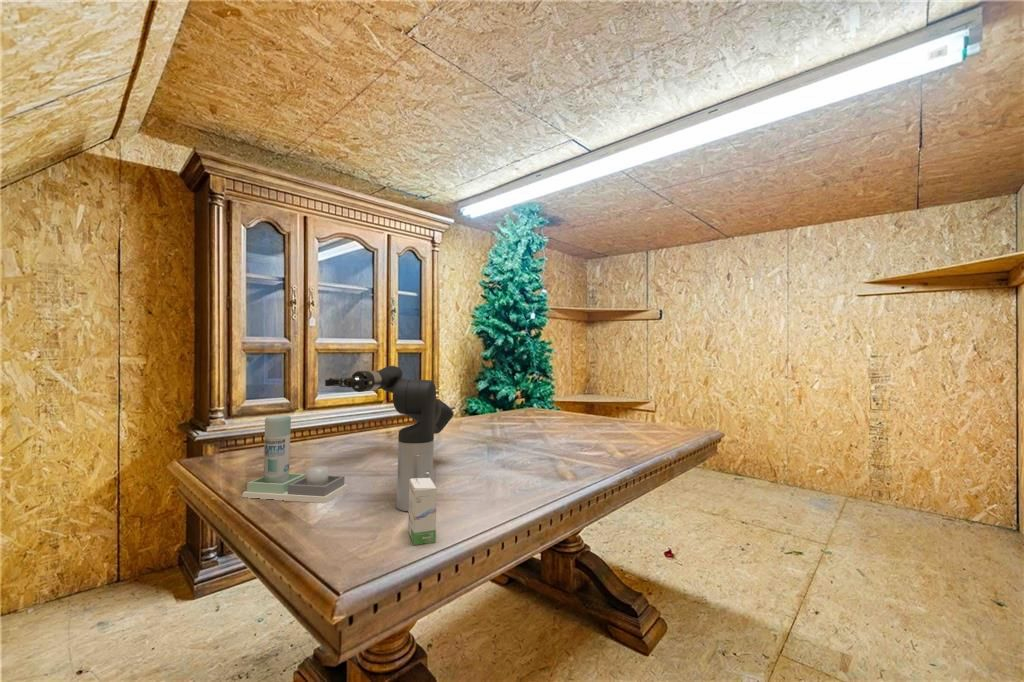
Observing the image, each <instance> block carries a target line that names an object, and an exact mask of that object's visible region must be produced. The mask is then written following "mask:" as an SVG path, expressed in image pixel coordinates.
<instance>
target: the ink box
mask: <svg viewBox="0 0 1024 682" xmlns="http://www.w3.org/2000/svg"><path fill="white" fill-rule="evenodd" d="M437 489H438V488H437V487H436V484H435V485H434V483H433V482H432V480H431V479H430V478H412V479H410V481H409V511H408V518H407V519H408V522H407V526H408V527H407V531H408V534H409V536H410V539H411V541H412V545H414V546H418V544H419V545H424V544H423V543H426V544H430V543H429V542H432V543H436V542H435V541H437V540H436V538H437V537H436V536H437Z"/></svg>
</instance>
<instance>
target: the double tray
mask: <svg viewBox="0 0 1024 682" xmlns="http://www.w3.org/2000/svg"><path fill="white" fill-rule="evenodd" d="M348 485H349V484H348V483H347V484H346V483H345V475H330V474H329V466H328V465H312V466H309V467H307V468H306V473H293V472H289V481H287V482H285V483H283V484H279V483H264V475H263V476H260V477H258V478H255V479H253V480H251V481H248V482H247V485H246V486H247V487H246V490H245V491H243V492H242V498H243V497H248V498H247V499H250V498H260V499H259V500H266V499H274V500H273V501H282V500H284V501H283V502H285V501H286V502H287V501H288V502H301V503H302V502H303V503H317V504H326V503H327V502H329V501H331V500H333V499H334V498H336V497H338V496H339V495H341V494H342V493H344V492H346V491H347V490H349V489H348V488H349V487H348Z"/></svg>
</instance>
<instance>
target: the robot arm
mask: <svg viewBox="0 0 1024 682" xmlns="http://www.w3.org/2000/svg"><path fill="white" fill-rule="evenodd" d="M402 377H403V371H402V369H401V368H399V367H398V366H396V365H390V366H386V367H384V368H382V369H379V370H357V371H355V372H354V373H352V375H349V376H340V377H336V378H335V377H334V378H333V377H330V378H328V379H325V380H324V386H325V387H339V388H349V389H350V388H351V389H352V390H354V391H355V392H357V393H363V392H371V391H374V390H381V389H382V390H383V391H385V392H388V393H392V403H393V407H394V409H395V411H396V412H397V413H398V414H400V415H406V416H408V417H409V418H411V419H412V420H413V421H415V422H416V423H414V424H412V425H409V426H406V427H403V428H401V429H400V430H399V431H398V434H397V438H398V444H397V451H398V452H397V474H396V475H397V477H396V478H397V479H396V508H397V509H398V510H400V511H403V512H409V481H410V479H412V478H430V479H431V480H432V482H433V483H434V485H435V486H436V466H435V467H434V448H435V447H434V444H435V441H434V439H435V434H440V433H441V432H442V431H443V430H444V429H445V427H446V426H447V424H449V423H450V421H451V420H452V419H453V417H454V411H453V410H452V409H451V408H450V406H449V405H447V404H446V403H445V402H444V401H442V400H440V399H439V398H437V387H436V384H435V382H434V381H433V380H430V379H406V378H402Z"/></svg>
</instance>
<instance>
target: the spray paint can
mask: <svg viewBox="0 0 1024 682" xmlns="http://www.w3.org/2000/svg"><path fill="white" fill-rule="evenodd" d="M291 420H292V418H291V416H290V415H282V414H281V415H271V416H270V415H269V416H267V417H265V420H264V449H263V450H264V451H263V452H264V453H263V454H264V455H263V456H264V457H263V476H264V483H279V484H283V483H285V482H287V481H289V473H290V456H291V455H290V454H291V453H290V451H291V428H292V427H291V424H292V422H291Z"/></svg>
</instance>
